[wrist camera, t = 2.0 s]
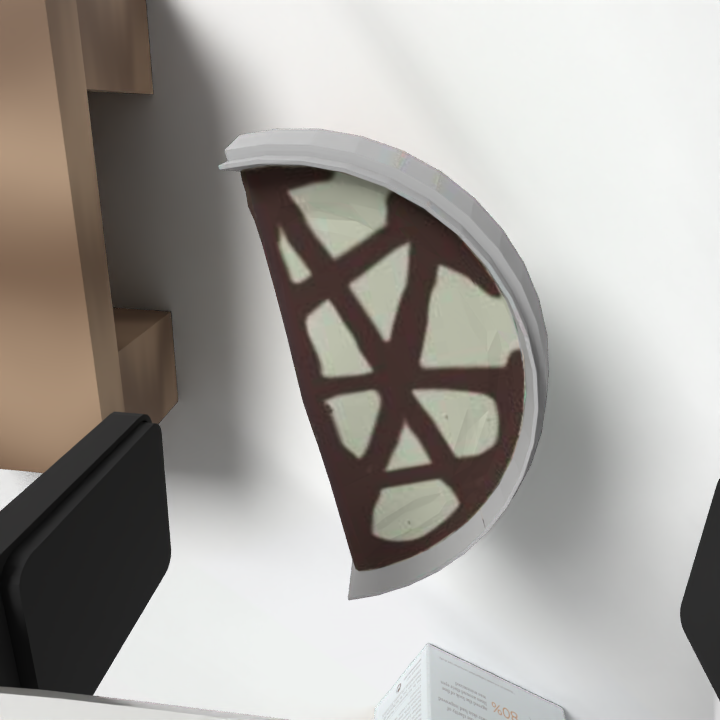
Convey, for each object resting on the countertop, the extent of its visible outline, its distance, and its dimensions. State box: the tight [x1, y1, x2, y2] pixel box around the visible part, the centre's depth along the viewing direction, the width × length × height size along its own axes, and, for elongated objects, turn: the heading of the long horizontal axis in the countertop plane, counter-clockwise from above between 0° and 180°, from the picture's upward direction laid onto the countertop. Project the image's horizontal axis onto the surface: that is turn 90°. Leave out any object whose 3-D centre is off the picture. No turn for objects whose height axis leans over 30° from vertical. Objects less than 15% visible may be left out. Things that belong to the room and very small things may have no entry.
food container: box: [218, 129, 549, 600], centre depth 18 cm, size 12×6×10 cm, turn 13°
